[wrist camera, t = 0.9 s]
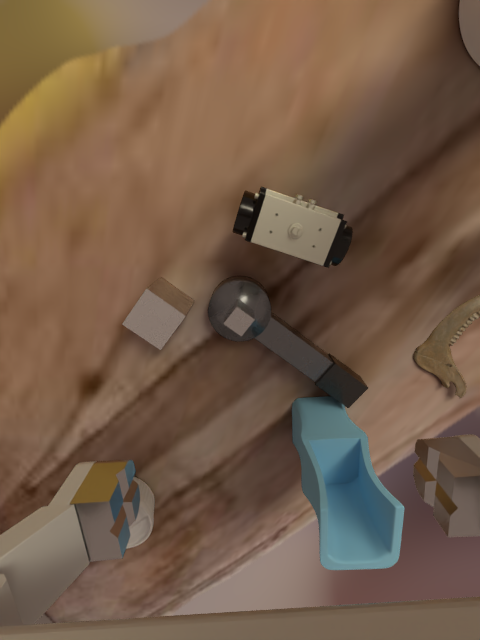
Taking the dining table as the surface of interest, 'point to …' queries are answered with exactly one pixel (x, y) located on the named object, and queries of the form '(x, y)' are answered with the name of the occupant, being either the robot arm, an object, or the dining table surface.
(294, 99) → the dining table surface
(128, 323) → the beige rectangular block
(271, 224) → the pneumatic valve
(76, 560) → the robot arm
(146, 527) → the ramekin
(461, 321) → the jawbone
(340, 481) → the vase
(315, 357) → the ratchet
